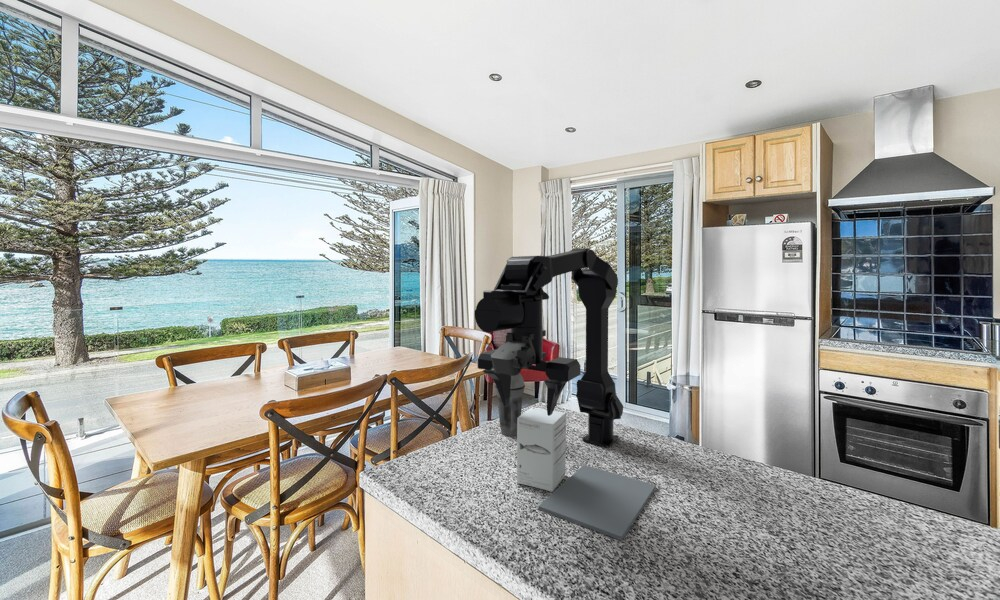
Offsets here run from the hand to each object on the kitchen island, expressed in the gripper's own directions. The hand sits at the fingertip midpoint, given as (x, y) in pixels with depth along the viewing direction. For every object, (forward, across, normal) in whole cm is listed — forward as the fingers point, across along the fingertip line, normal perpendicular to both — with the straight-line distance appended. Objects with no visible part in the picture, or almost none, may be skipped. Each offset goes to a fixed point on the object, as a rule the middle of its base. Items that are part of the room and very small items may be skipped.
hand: (527, 410), depth 76 cm
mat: (+14, +13, +2) cm, 19 cm away
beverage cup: (+14, -16, +19) cm, 29 cm away
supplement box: (+14, +1, +3) cm, 14 cm away
